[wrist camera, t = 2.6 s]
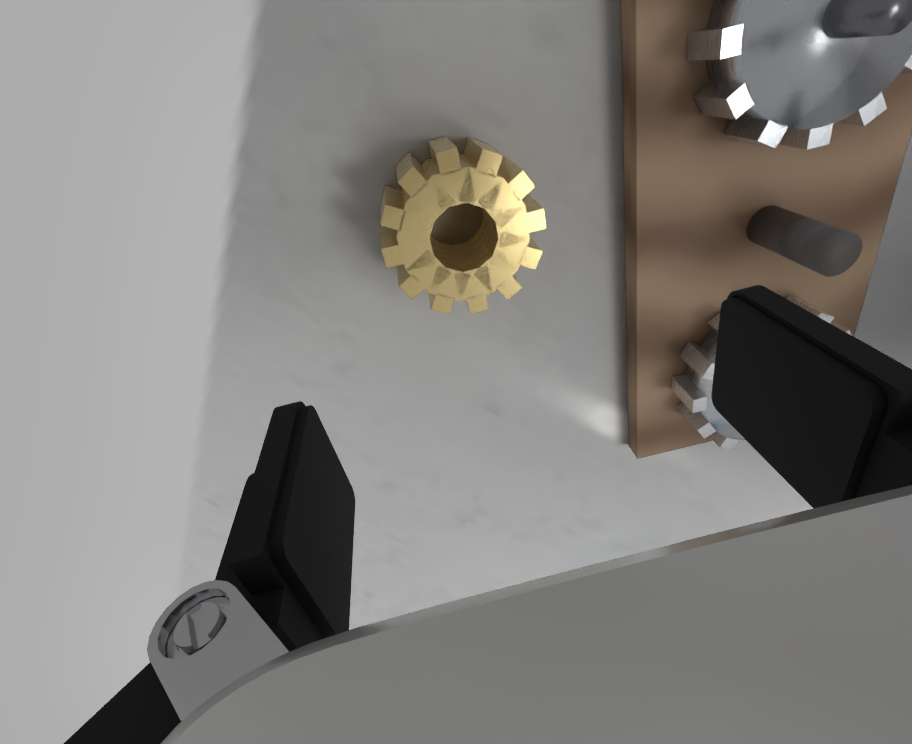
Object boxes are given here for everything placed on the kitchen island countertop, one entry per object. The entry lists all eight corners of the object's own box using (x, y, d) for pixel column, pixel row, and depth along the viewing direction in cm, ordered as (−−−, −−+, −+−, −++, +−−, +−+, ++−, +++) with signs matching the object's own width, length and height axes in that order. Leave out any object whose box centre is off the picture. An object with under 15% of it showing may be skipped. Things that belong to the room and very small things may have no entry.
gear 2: (837, 276, 28) (916, 312, 24) (806, 406, 33) (866, 454, 29) (674, 316, 28) (725, 359, 24) (669, 439, 33) (709, 492, 29)
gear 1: (944, -168, 18) (1110, -239, 14) (876, 115, 23) (981, 125, 19) (694, -104, 18) (784, -155, 14) (681, 164, 23) (745, 184, 19)
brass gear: (513, 119, 23) (535, 128, 19) (532, 265, 27) (553, 293, 23) (361, 157, 23) (357, 172, 20) (403, 297, 27) (405, 330, 24)
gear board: (619, -120, 19) (714, -197, 13) (970, -209, 19) (1212, -324, 13) (628, 444, 35) (673, 514, 30) (816, 398, 35) (896, 459, 29)
